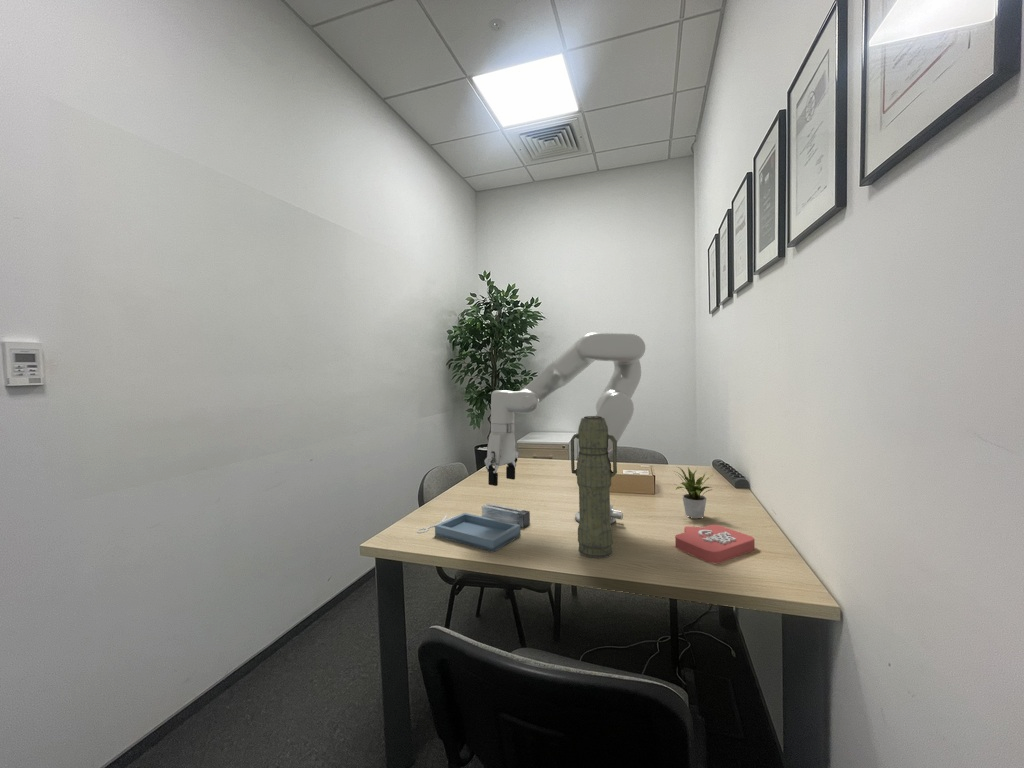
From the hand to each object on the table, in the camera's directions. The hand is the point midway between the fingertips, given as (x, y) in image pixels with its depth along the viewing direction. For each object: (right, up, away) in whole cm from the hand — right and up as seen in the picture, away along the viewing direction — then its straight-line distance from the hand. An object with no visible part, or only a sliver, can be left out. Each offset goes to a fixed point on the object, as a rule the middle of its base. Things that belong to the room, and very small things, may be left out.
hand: (502, 481), depth 125 cm
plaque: (+56, -12, -21) cm, 61 cm away
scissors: (-19, -14, -1) cm, 23 cm away
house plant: (+61, -12, +2) cm, 62 cm away
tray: (-7, -13, -12) cm, 19 cm away
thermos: (+25, -12, -23) cm, 36 cm away
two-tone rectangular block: (+1, -13, 0) cm, 13 cm away
